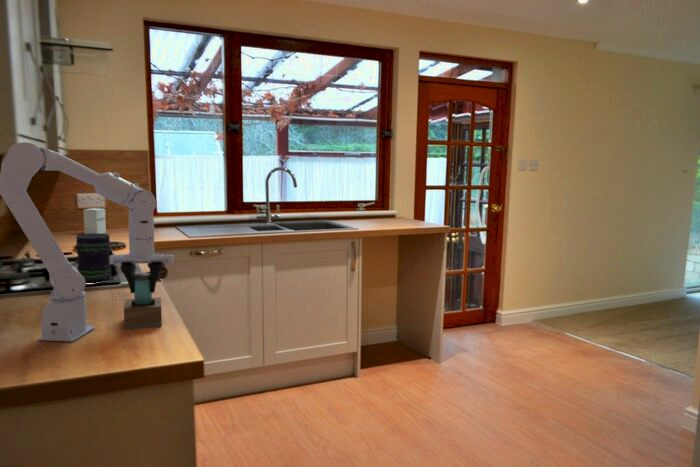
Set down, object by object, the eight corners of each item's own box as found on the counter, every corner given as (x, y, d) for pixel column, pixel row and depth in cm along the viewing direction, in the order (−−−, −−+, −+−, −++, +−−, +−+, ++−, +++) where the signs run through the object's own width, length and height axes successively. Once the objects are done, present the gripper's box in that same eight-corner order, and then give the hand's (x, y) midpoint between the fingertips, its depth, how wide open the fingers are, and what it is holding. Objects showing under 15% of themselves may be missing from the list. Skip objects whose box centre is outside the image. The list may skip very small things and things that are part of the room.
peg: (143, 305, 124) (142, 277, 123) (130, 302, 126) (129, 275, 125) (155, 301, 128) (155, 274, 127) (143, 299, 130) (142, 272, 128)
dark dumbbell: (160, 286, 170) (153, 274, 183) (173, 277, 172) (166, 267, 185) (150, 271, 168) (145, 261, 181) (164, 263, 170) (157, 254, 183)
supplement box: (97, 234, 256) (96, 209, 254) (83, 234, 257) (82, 209, 256) (106, 232, 264) (105, 208, 262) (93, 232, 265) (92, 207, 263)
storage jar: (74, 279, 167) (72, 234, 165) (106, 276, 173) (105, 232, 171) (81, 286, 159) (80, 239, 157) (115, 282, 166) (113, 236, 163)
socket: (161, 326, 125) (161, 306, 124) (124, 329, 122) (123, 309, 121) (161, 316, 133) (160, 297, 132) (126, 318, 130) (125, 299, 129)
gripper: (105, 240, 119) (107, 296, 121) (170, 240, 122) (171, 295, 124) (112, 235, 126) (114, 289, 128) (174, 236, 129) (175, 288, 131)
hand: (142, 291), depth 126 cm, fingers closed on peg, 4 cm apart
